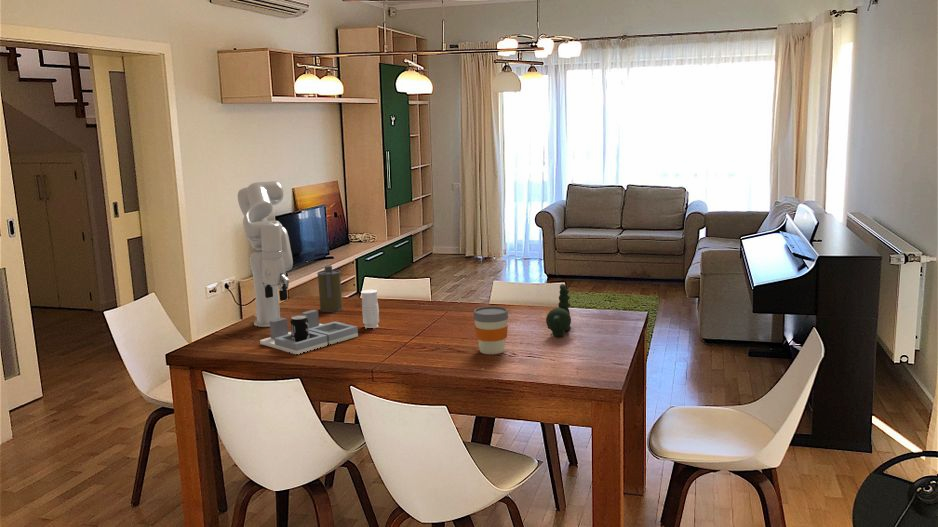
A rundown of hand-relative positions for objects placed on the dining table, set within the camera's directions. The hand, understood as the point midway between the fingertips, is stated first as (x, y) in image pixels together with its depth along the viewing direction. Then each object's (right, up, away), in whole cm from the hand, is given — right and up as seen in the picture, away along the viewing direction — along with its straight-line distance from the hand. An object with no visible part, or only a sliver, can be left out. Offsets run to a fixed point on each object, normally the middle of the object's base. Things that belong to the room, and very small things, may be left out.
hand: (276, 298), depth 298 cm
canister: (+12, -7, +52) cm, 53 cm away
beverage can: (+11, -18, -6) cm, 22 cm away
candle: (+34, -13, +20) cm, 42 cm away
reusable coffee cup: (+83, -18, -18) cm, 87 cm away
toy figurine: (+110, -13, +1) cm, 111 cm away
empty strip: (+17, -15, +9) cm, 25 cm away
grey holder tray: (+7, -18, -2) cm, 19 cm away
